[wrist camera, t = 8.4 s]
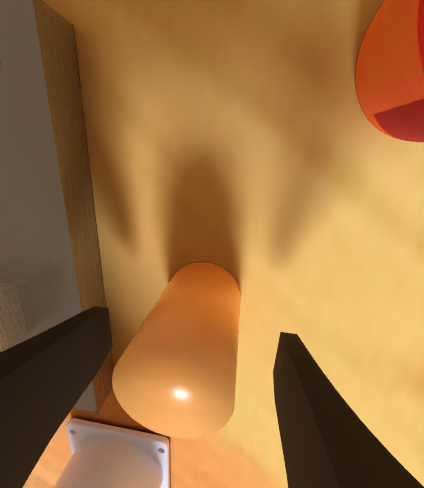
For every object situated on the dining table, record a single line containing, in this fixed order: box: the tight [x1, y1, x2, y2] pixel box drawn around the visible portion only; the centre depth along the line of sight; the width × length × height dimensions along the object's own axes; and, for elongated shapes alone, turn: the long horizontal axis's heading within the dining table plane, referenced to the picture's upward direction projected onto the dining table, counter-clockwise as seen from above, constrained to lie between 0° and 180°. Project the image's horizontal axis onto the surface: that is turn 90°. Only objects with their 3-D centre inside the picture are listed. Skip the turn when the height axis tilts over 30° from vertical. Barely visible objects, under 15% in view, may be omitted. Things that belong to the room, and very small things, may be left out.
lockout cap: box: [112, 262, 240, 439], centre depth 10 cm, size 4×4×6 cm
